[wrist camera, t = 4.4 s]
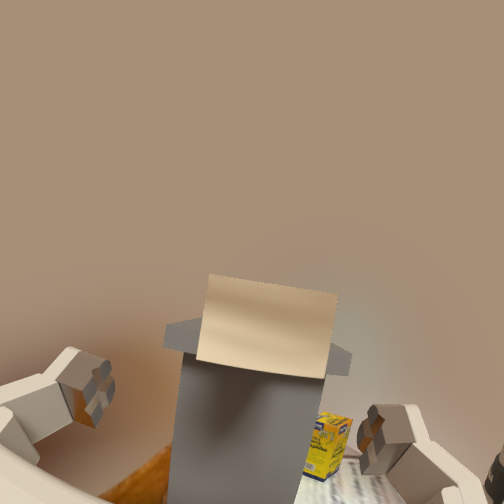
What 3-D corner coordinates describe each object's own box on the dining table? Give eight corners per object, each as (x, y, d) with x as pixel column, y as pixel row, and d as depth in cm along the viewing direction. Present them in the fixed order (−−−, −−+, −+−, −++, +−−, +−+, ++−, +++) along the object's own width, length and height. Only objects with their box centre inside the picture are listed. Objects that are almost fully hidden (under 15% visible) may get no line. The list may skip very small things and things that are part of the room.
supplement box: (323, 483, 40) (339, 427, 41) (293, 471, 43) (307, 417, 45) (339, 471, 44) (353, 418, 46) (310, 461, 48) (323, 410, 50)
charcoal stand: (275, 595, 15) (352, 353, 19) (148, 574, 15) (166, 324, 19) (271, 505, 32) (309, 331, 36) (185, 491, 33) (209, 315, 37)
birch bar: (321, 387, 9) (338, 293, 9) (194, 368, 9) (210, 274, 10) (277, 327, 35) (281, 301, 35) (242, 322, 35) (246, 296, 35)
